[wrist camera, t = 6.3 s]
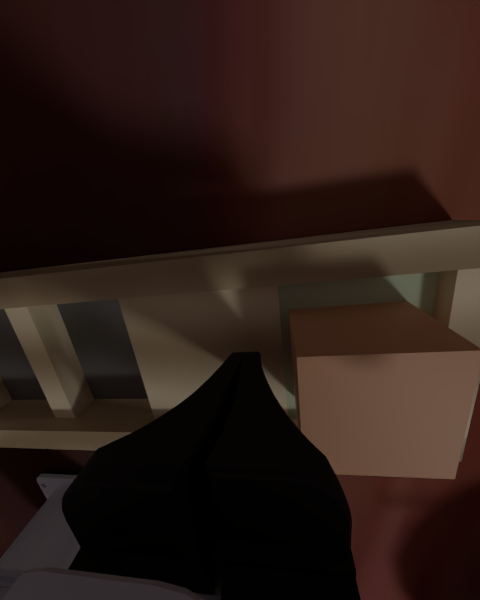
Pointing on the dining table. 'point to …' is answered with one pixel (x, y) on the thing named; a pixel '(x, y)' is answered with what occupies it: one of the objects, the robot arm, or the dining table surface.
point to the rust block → (382, 388)
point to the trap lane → (202, 322)
